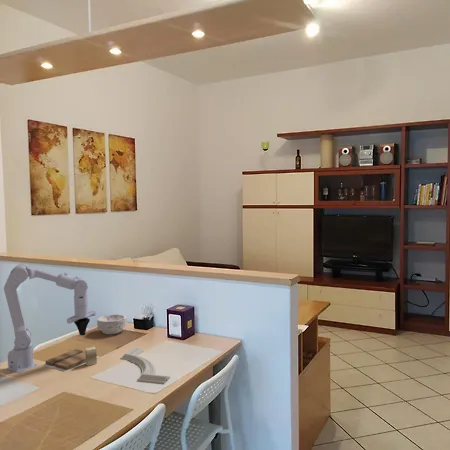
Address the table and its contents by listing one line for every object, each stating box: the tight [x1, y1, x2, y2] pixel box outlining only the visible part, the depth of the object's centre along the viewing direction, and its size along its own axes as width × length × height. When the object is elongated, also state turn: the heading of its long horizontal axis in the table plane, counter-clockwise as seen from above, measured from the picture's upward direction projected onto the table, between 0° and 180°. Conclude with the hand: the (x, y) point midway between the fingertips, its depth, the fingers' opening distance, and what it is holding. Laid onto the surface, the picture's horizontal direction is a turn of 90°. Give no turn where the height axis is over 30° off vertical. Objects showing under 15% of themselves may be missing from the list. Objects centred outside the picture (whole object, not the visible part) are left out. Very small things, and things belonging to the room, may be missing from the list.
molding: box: [120, 346, 171, 385], centre depth 182 cm, size 42×12×3 cm, turn 28°
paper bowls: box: [96, 314, 127, 335], centre depth 231 cm, size 15×15×8 cm
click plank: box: [55, 351, 98, 370], centre depth 188 cm, size 16×8×1 cm, turn 149°
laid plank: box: [45, 348, 84, 366], centre depth 192 cm, size 16×5×2 cm, turn 149°
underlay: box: [42, 355, 100, 373], centre depth 190 cm, size 19×16×1 cm
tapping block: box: [84, 346, 98, 366], centre depth 186 cm, size 7×4×3 cm
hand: (82, 334), depth 194 cm, fingers closed
